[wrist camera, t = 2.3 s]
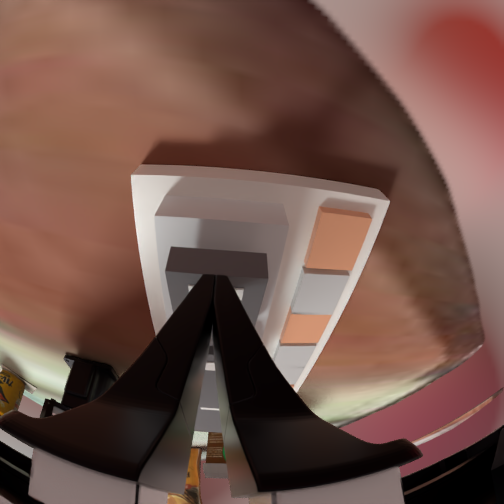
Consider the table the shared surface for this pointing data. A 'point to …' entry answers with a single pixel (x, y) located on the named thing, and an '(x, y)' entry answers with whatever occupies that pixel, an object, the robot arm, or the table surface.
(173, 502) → the pancake mix bag
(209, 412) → the block
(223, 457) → the food container
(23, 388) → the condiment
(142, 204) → the switch unit
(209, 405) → the rocker middle
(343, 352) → the table surface
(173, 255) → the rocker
